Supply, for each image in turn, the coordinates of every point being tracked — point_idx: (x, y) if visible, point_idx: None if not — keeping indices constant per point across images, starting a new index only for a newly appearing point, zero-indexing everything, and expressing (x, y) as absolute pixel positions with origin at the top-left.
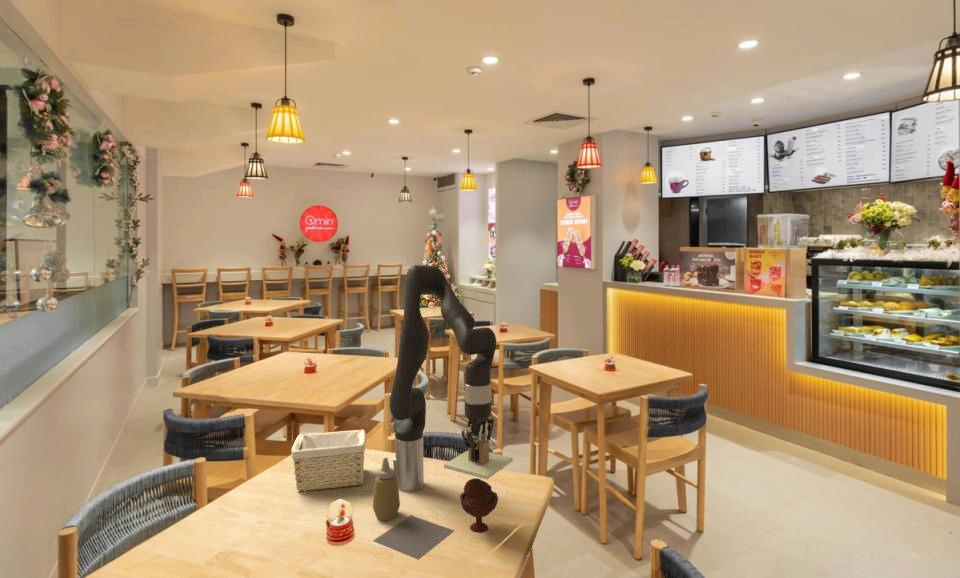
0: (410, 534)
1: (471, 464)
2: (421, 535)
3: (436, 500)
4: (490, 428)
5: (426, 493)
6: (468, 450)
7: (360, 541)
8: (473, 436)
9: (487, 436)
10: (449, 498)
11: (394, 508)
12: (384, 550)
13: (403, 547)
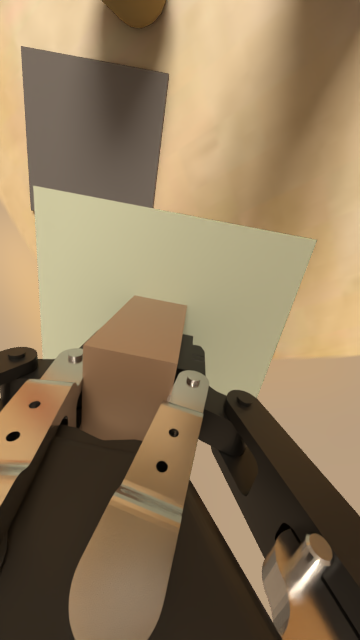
0: (91, 136)
1: (105, 322)
2: (100, 167)
3: (277, 102)
4: (258, 539)
5: (317, 33)
6: (115, 314)
7: (7, 4)
8: (66, 418)
9: (218, 453)
10: (297, 138)
11: (113, 5)
12: (18, 109)
13: (43, 152)
